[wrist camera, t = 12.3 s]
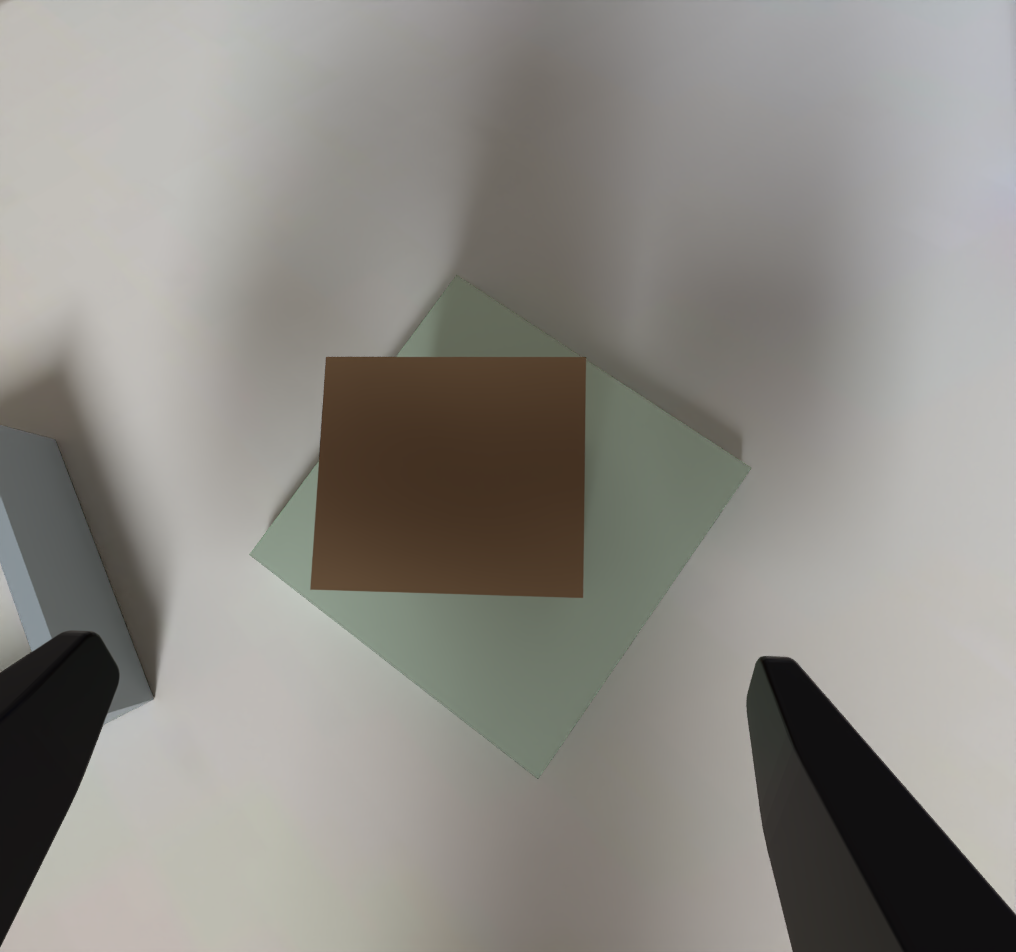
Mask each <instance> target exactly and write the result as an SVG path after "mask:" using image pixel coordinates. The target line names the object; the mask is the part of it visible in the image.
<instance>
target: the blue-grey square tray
mask: <svg viewBox="0 0 1016 952" xmlns="http://www.w3.org/2000/svg"><path fill="white" fill-rule="evenodd" d="M0 563H1V566H2V569H3V572H4V575H5V577H6V580H7V583H8V586H9V589H10V592H11V594H12V597H13V600H14V603H15V606H16V609H17V611H18V614H19V617H20V620H21V623H22V626H23V628H24V631H25V634H26V637H27V640H28V643H29V645H30V648H31V651H34V650H35V649H37V648H38V647H40V646H41V645H43V644H44V643H46V642H48V641H49V640H51V639H52V638H54V637H55V636H57V635H58V634H60V633H62V632H65V631H70V630H77V631H93V632H96V633H97V634H99V635H100V637H101V638H102V640H103V641H104V643H105V645H106V646H107V648H108V650H109V651H110V653H111V655H112V657H113V658H114V660H115V662H116V663H117V665H118V667H119V671H120V679H119V684H118V687H117V690H116V693H115V695H114V698H113V700H112V703H111V706H110V708H109V711H108V714H107V716H106V719H105V721H104V724H106V723H108V722H110V721H112V720H114V719H116V718H118V717H120V716H122V715H124V714H125V713H127V712H129V711H131V710H133V709H135V708H137V707H139V706H141V705H143V704H145V703H147V702H149V701H151V700H153V699H154V698H153V696H152V693H151V690H150V688H149V685H148V682H147V680H146V677H145V674H144V672H143V669H142V667H141V664H140V661H139V659H138V656H137V653H136V651H135V648H134V646H133V643H132V640H131V638H130V635H129V632H128V630H127V627H126V624H125V622H124V619H123V617H122V614H121V611H120V609H119V606H118V603H117V601H116V598H115V596H114V593H113V590H112V588H111V585H110V582H109V580H108V577H107V574H106V572H105V569H104V567H103V564H102V561H101V559H100V556H99V553H98V551H97V548H96V546H95V543H94V540H93V538H92V535H91V532H90V530H89V527H88V524H87V522H86V519H85V517H84V514H83V511H82V509H81V506H80V503H79V501H78V498H77V496H76V493H75V490H74V488H73V485H72V482H71V480H70V477H69V474H68V472H67V469H66V467H65V464H64V461H63V459H62V456H61V453H60V451H59V448H58V446H57V443H56V440H55V439H52V438H48V437H44V436H40V435H36V434H33V433H29V432H25V431H21V430H18V429H14V428H10V427H6V426H2V425H0ZM104 724H103V725H104Z"/></svg>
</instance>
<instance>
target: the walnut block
mask: <svg viewBox="0 0 1016 952" xmlns="http://www.w3.org/2000/svg"><path fill="white" fill-rule="evenodd" d="M585 407H586V357H326V365H325V380H324V395H323V409H322V424H321V439H320V453H319V468H318V483H317V497H316V512H315V527H314V541H313V556H312V571H311V585H310V590H337V591H370V592H402V593H434V594H467V595H499V596H532V597H564V598H583V578H584V493H585Z"/></svg>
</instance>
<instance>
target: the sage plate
mask: <svg viewBox="0 0 1016 952" xmlns="http://www.w3.org/2000/svg"><path fill="white" fill-rule="evenodd" d="M396 357H581V356H580V355H578V354H576V353H575V352H573V351H572V350H570V349H569V348H567V347H566V346H564V345H563V344H561V343H560V342H558V341H557V340H555V339H554V338H552V337H550V336H549V335H547V334H546V333H544V332H543V331H541V330H540V329H538V328H537V327H535V326H534V325H532V324H531V323H529V322H528V321H526V320H524V319H523V318H521V317H520V316H518V315H517V314H515V313H514V312H512V311H511V310H509V309H508V308H506V307H505V306H503V305H502V304H500V303H498V302H497V301H495V300H494V299H492V298H491V297H489V296H488V295H486V294H485V293H483V292H482V291H480V290H479V289H477V288H476V287H474V286H472V285H471V284H469V283H468V282H466V281H465V280H463V279H462V278H460V277H459V276H457V275H456V276H455V278H454V279H453V280H452V282H451V283H450V285H449V286H448V287H447V289H446V290H445V291H444V293H443V294H442V295H441V297H440V298H439V299H438V301H437V302H436V303H435V305H434V306H433V307H432V309H431V310H430V312H429V313H428V314H427V316H426V317H425V318H424V320H423V321H422V322H421V324H420V325H419V326H418V328H417V329H416V330H415V332H414V333H413V334H412V336H411V337H410V339H409V340H408V341H407V343H406V344H405V345H404V347H403V348H402V349H401V351H400V352H399V353H398V355H397V356H396ZM318 468H319V461H318V463H317V464H316V465H315V467H314V468H313V469H312V471H311V472H310V473H309V475H308V476H307V477H306V479H305V480H304V482H303V483H302V484H301V486H300V487H299V488H298V490H297V491H296V492H295V494H294V495H293V496H292V498H291V499H290V500H289V502H288V503H287V504H286V506H285V507H284V509H283V510H282V511H281V513H280V514H279V515H278V517H277V518H276V519H275V521H274V522H273V523H272V525H271V526H270V527H269V529H268V530H267V531H266V533H265V534H264V535H263V537H262V538H261V540H260V541H259V542H258V544H257V545H256V546H255V548H254V549H253V550H252V552H251V553H250V554H249V555H250V556H252V557H253V558H254V559H255V560H257V561H258V562H259V563H261V564H262V565H263V566H264V567H266V568H267V569H268V570H270V571H271V572H272V573H273V574H275V575H276V576H277V577H279V578H280V579H281V580H282V581H284V582H285V583H286V584H288V585H289V586H290V587H291V588H293V589H294V590H295V591H297V592H298V593H299V594H300V595H302V596H303V597H304V598H306V599H307V600H308V601H309V602H311V603H312V604H313V605H315V606H316V607H317V608H318V609H320V610H321V611H322V612H324V613H325V614H326V615H327V616H329V617H330V618H331V619H333V620H334V621H335V622H336V623H338V624H339V625H340V626H342V627H343V628H344V629H345V630H347V631H348V632H349V633H351V634H352V635H353V636H354V637H356V638H357V639H358V640H360V641H361V642H362V643H363V644H365V645H366V646H367V647H369V648H370V649H371V650H372V651H374V652H375V653H376V654H378V655H379V656H380V657H381V658H383V659H384V660H385V661H387V662H388V663H389V664H391V665H392V666H393V667H394V668H396V669H397V670H398V671H400V672H401V673H402V674H403V675H405V676H406V677H407V678H409V679H410V680H411V681H412V682H414V683H415V684H416V685H418V686H419V687H420V688H421V689H423V690H424V691H425V692H427V693H428V694H429V695H430V696H432V697H433V698H434V699H436V700H437V701H438V702H439V703H441V704H442V705H443V706H445V707H446V708H447V709H448V710H450V711H451V712H452V713H454V714H455V715H456V716H457V717H459V718H460V719H461V720H463V721H464V722H465V723H466V724H468V725H469V726H470V727H472V728H473V729H474V730H475V731H477V732H478V733H479V734H481V735H482V736H483V737H484V738H486V739H487V740H488V741H490V742H491V743H492V744H493V745H495V746H496V747H497V748H499V749H500V750H501V751H502V752H504V753H505V754H506V755H508V756H509V757H510V758H511V759H513V760H514V761H515V762H517V763H518V764H519V765H520V766H522V767H523V768H524V769H526V770H527V771H528V772H530V773H531V774H532V775H533V776H535V777H536V778H537V779H539V777H540V776H541V774H542V773H543V771H544V770H545V768H546V767H547V766H548V764H549V763H550V761H551V760H552V758H553V757H554V755H555V754H556V752H557V751H558V750H559V748H560V747H561V745H562V744H563V742H564V741H565V739H566V738H567V736H568V735H569V733H570V732H571V731H572V729H573V728H574V726H575V725H576V723H577V722H578V720H579V719H580V717H581V716H582V715H583V713H584V712H585V710H586V709H587V707H588V706H589V704H590V703H591V701H592V700H593V698H594V697H595V696H596V694H597V693H598V691H599V690H600V688H601V687H602V685H603V684H604V682H605V681H606V680H607V678H608V677H609V675H610V674H611V672H612V671H613V669H614V668H615V666H616V665H617V663H618V662H619V661H620V659H621V658H622V656H623V655H624V653H625V652H626V650H627V649H628V647H629V646H630V645H631V643H632V642H633V640H634V639H635V637H636V636H637V634H638V633H639V631H640V630H641V628H642V627H643V626H644V624H645V623H646V621H647V620H648V618H649V617H650V615H651V614H652V612H653V611H654V610H655V608H656V607H657V605H658V604H659V602H660V601H661V599H662V598H663V596H664V595H665V593H666V592H667V591H668V589H669V588H670V586H671V585H672V583H673V582H674V580H675V579H676V577H677V576H678V575H679V573H680V572H681V570H682V569H683V567H684V566H685V564H686V563H687V561H688V560H689V558H690V557H691V556H692V554H693V553H694V551H695V550H696V548H697V547H698V545H699V544H700V542H701V541H702V540H703V538H704V537H705V535H706V534H707V532H708V531H709V529H710V528H711V526H712V525H713V523H714V522H715V521H716V519H717V518H718V516H719V515H720V513H721V512H722V510H723V509H724V507H725V506H726V505H727V503H728V502H729V500H730V499H731V497H732V496H733V494H734V493H735V491H736V490H737V488H738V487H739V486H740V484H741V483H742V481H743V480H744V478H745V477H746V475H747V474H748V472H749V471H750V470H751V467H749V466H748V465H746V464H745V463H743V462H742V461H740V460H739V459H737V458H736V457H734V456H732V455H731V454H729V453H728V452H726V451H725V450H723V449H722V448H720V447H719V446H717V445H716V444H714V443H713V442H711V441H710V440H708V439H706V438H705V437H703V436H702V435H700V434H699V433H697V432H696V431H694V430H693V429H691V428H690V427H688V426H687V425H685V424H684V423H682V422H680V421H679V420H677V419H676V418H674V417H673V416H671V415H670V414H668V413H667V412H665V411H664V410H662V409H661V408H659V407H658V406H656V405H654V404H653V403H651V402H650V401H648V400H647V399H645V398H644V397H642V396H641V395H639V394H638V393H636V392H635V391H633V390H632V389H630V388H628V387H627V386H625V385H624V384H622V383H621V382H619V381H618V380H616V379H615V378H613V377H612V376H610V375H609V374H607V373H606V372H604V371H602V370H601V369H599V368H598V367H596V366H595V365H593V364H592V363H590V362H589V361H587V360H586V407H585V493H584V578H583V598H564V597H532V596H499V595H467V594H434V593H402V592H370V591H337V590H310V585H311V571H312V556H313V541H314V527H315V512H316V497H317V483H318Z"/></svg>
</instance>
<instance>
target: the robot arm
mask: <svg viewBox="0 0 1016 952" xmlns="http://www.w3.org/2000/svg"><path fill="white" fill-rule="evenodd" d="M119 679H120V671H119V667H118V665H117V663H116V662H115V660H114V658H113V657H112V655H111V653H110V651H109V650H108V648H107V646H106V645H105V643H104V641H103V640H102V638H101V637H100V635H99V634H97V633H96V632H93V631H77V630H70V631H65V632H62V633H60V634H58V635H57V636H55V637H54V638H52V639H51V640H49V641H48V642H46V643H44V644H43V645H41V646H40V647H38V648H37V649H35V650H34V651H32V652H31V653H29V654H28V655H26V656H25V657H23V658H22V659H20V660H19V661H17V662H16V663H14V664H13V665H11V666H10V667H8V668H7V669H5V670H4V671H2V672H1V673H0V947H1V945H2V943H3V941H4V939H5V937H6V935H7V933H8V931H9V929H10V927H11V925H12V923H13V921H14V919H15V917H16V915H17V913H18V911H19V909H20V907H21V905H22V903H23V901H24V898H25V896H26V894H27V892H28V890H29V888H30V886H31V884H32V882H33V880H34V878H35V876H36V874H37V872H38V870H39V868H40V866H41V864H42V862H43V860H44V858H45V856H46V854H47V852H48V850H49V848H50V846H51V844H52V842H53V840H54V838H55V836H56V834H57V832H58V830H59V828H60V826H61V824H62V822H63V820H64V818H65V816H66V814H67V812H68V810H69V808H70V806H71V803H72V801H73V799H74V797H75V795H76V793H77V791H78V788H79V786H80V783H81V781H82V779H83V776H84V774H85V771H86V769H87V766H88V763H89V761H90V758H91V756H92V753H93V750H94V748H95V745H96V742H97V740H98V737H99V735H100V732H101V729H102V727H103V724H104V721H105V719H106V716H107V714H108V711H109V708H110V706H111V703H112V700H113V698H114V695H115V693H116V690H117V687H118V684H119ZM746 706H747V717H748V725H749V732H750V739H751V747H752V754H753V762H754V769H755V777H756V784H757V791H758V799H759V806H760V813H761V820H762V826H763V832H764V836H765V841H766V845H767V850H768V854H769V858H770V862H771V866H772V870H773V874H774V878H775V882H776V886H777V890H778V894H779V898H780V902H781V906H782V910H783V914H784V918H785V922H786V926H787V930H788V934H789V938H790V942H791V946H792V950H793V952H1016V914H1015V913H1014V912H1013V911H1012V909H1011V908H1010V907H1009V906H1008V905H1007V904H1006V903H1005V901H1004V900H1003V899H1002V898H1001V897H1000V896H999V894H998V893H997V892H996V891H995V890H994V889H993V888H992V886H991V885H990V884H989V883H988V882H987V881H986V879H985V878H984V877H983V876H982V875H981V874H980V873H979V871H978V870H977V869H976V868H975V867H974V866H973V865H972V863H971V862H970V861H969V860H968V859H967V858H966V856H965V855H964V854H963V853H962V852H961V851H960V850H959V848H958V847H957V846H956V845H955V844H954V843H953V842H952V840H951V839H950V838H949V837H948V836H947V835H946V833H945V832H944V831H943V830H942V829H941V828H940V827H939V825H938V824H937V823H936V822H935V821H934V820H933V819H932V817H931V816H930V815H929V814H928V813H927V812H926V810H925V809H924V808H923V807H922V806H921V805H920V804H919V802H918V801H917V800H916V799H915V798H914V797H913V796H912V794H911V793H910V792H909V791H908V790H907V789H906V787H905V786H904V785H903V784H902V783H901V782H900V781H899V779H898V778H897V777H896V776H895V775H894V774H893V773H892V771H891V770H890V769H889V768H888V767H887V766H886V764H885V763H884V762H883V761H882V760H881V759H880V758H879V756H878V755H877V754H876V753H875V752H874V751H873V750H872V748H871V747H870V746H869V745H868V744H867V743H866V741H865V740H864V739H863V738H862V737H861V736H860V735H859V733H858V732H857V731H856V730H855V729H854V728H853V727H852V725H851V724H850V723H849V722H848V721H847V720H846V718H845V717H844V716H843V715H842V714H841V713H840V712H839V710H838V709H837V708H836V707H835V706H834V705H833V704H832V702H831V701H830V700H829V699H828V698H827V697H826V695H825V694H824V693H823V692H822V691H821V690H820V689H819V687H818V686H817V685H816V684H815V683H814V682H813V681H812V679H811V678H810V677H809V676H808V675H807V674H806V672H805V671H804V670H803V669H802V668H801V667H800V666H799V664H798V663H797V662H796V661H794V660H793V659H791V658H789V657H776V656H762V657H760V658H759V659H758V660H757V662H756V664H755V668H754V672H753V675H752V679H751V683H750V686H749V690H748V694H747V704H746Z"/></svg>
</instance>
